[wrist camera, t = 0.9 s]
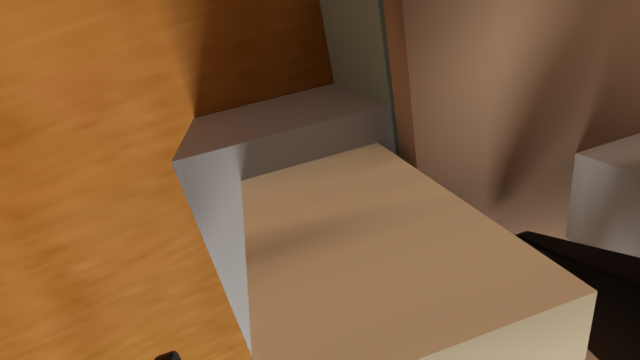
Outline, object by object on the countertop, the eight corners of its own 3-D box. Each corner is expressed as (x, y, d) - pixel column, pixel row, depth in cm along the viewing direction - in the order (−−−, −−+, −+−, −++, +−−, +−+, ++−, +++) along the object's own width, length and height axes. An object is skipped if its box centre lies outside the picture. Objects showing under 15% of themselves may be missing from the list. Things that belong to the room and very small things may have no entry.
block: (399, 298, 12) (553, 534, 6) (292, 335, 12) (353, 631, 6) (377, 142, 10) (598, 291, 4) (240, 180, 9) (256, 420, 3)
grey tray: (574, 248, 22) (678, 309, 17) (279, 353, 19) (296, 463, 14) (627, -143, 14) (857, -252, 9) (131, -56, 11) (45, -141, 6)
